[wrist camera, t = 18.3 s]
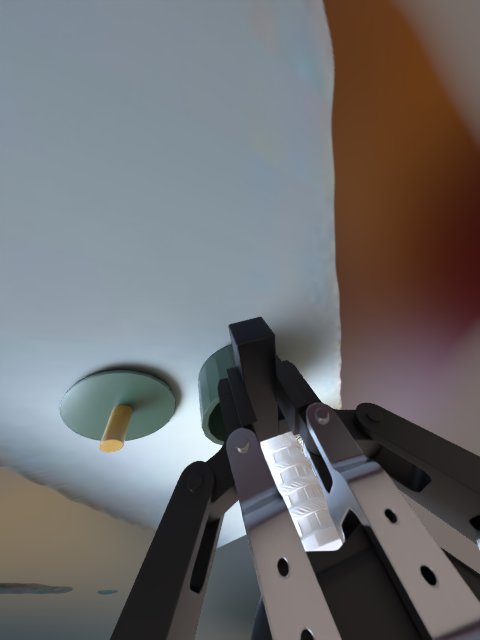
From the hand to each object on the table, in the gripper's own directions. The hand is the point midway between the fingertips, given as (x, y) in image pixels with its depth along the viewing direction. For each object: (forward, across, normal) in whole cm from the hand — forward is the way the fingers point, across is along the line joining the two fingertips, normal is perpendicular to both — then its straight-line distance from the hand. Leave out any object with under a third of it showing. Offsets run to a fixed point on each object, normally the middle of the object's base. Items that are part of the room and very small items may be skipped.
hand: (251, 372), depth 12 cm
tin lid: (+14, +17, +15) cm, 26 cm away
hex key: (0, -1, 0) cm, 2 cm away
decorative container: (+14, -6, +38) cm, 41 cm away
